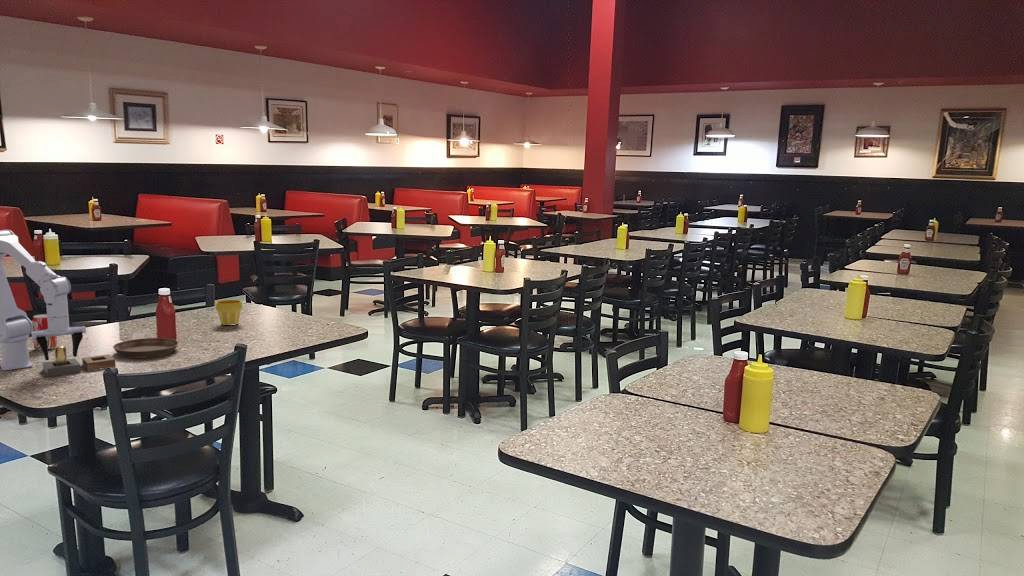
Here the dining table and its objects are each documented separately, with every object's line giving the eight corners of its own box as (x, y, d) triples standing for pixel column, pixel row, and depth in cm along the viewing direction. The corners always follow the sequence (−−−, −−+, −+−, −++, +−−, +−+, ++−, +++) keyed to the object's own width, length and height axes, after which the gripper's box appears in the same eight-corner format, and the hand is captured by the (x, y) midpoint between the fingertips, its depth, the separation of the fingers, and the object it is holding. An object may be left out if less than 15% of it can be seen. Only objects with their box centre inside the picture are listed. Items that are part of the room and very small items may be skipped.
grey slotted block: (43, 370, 231) (42, 362, 231) (75, 365, 237) (74, 358, 237) (48, 376, 224) (47, 369, 224) (81, 372, 230) (80, 364, 230)
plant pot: (216, 322, 305) (215, 299, 303) (242, 321, 309) (241, 298, 307) (216, 327, 295) (215, 304, 294) (243, 326, 299) (242, 303, 297)
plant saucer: (152, 343, 270) (151, 334, 269) (191, 350, 261) (191, 341, 260) (100, 355, 251) (99, 346, 251) (141, 363, 242) (140, 354, 242)
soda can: (29, 349, 254) (26, 316, 252) (47, 345, 261) (45, 312, 259) (43, 352, 252) (40, 318, 250) (62, 347, 258) (59, 314, 256)
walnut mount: (82, 365, 238) (82, 357, 237) (109, 361, 243) (109, 354, 243) (87, 370, 232) (87, 363, 232) (115, 366, 237) (115, 359, 237)
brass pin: (55, 370, 231) (53, 346, 229) (66, 369, 233) (64, 345, 231) (57, 373, 229) (55, 348, 227) (68, 371, 230) (66, 347, 229)
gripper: (32, 320, 220) (36, 364, 222) (86, 315, 229) (89, 357, 232) (29, 316, 225) (32, 359, 228) (82, 311, 235) (85, 352, 237)
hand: (61, 357), depth 230 cm, fingers open, 7 cm apart
